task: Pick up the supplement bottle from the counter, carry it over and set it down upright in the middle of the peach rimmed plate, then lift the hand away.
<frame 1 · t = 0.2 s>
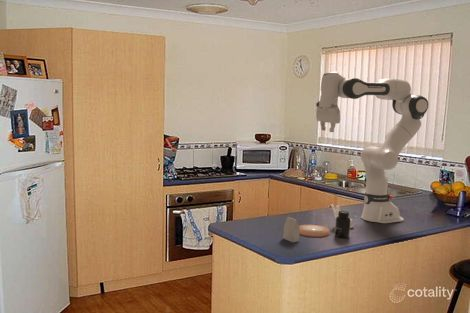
hand: (327, 131, 254), 47 cm above the table, tool pointing down, fingers open, 8 cm apart
supplement bottle: (342, 236, 234), on the table
peach rimmed plate: (312, 232, 240), on the table
plastic part: (341, 227, 252), on the table
tea bag: (291, 240, 227), on the table
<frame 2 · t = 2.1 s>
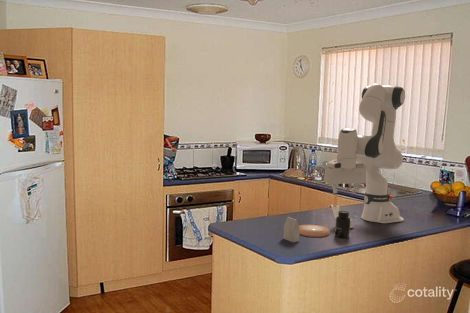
hand: (344, 192, 232), 21 cm above the table, tool pointing down, fingers open, 8 cm apart
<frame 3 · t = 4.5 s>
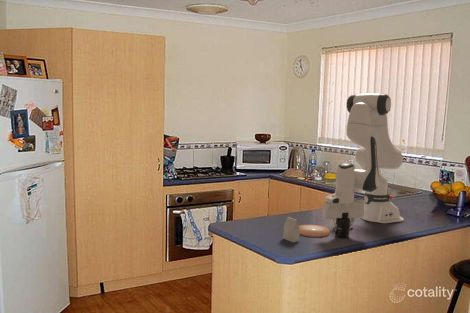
hand: (342, 226, 234), 5 cm above the table, tool pointing down, fingers closed on supplement bottle, 7 cm apart
supplement bottle: (342, 236, 234), on the table, touching gripper
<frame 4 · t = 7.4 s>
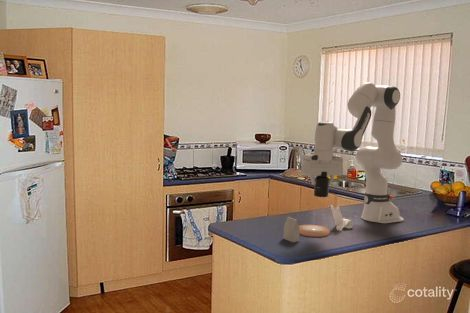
hand: (321, 184, 235), 24 cm above the table, tool pointing down, fingers closed on supplement bottle, 7 cm apart
supplement bottle: (321, 196, 236), point 18 cm above the table, touching gripper
when the fingers open (7 cm above the table, at t = 10.6 s): supplement bottle stays where it is, resting on peach rimmed plate.
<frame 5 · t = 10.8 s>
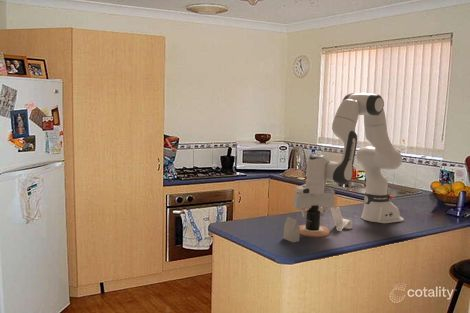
hand: (313, 216, 239), 8 cm above the table, tool pointing down, fingers open, 8 cm apart
supplement bottle: (312, 229, 240), point 2 cm above the table, touching peach rimmed plate
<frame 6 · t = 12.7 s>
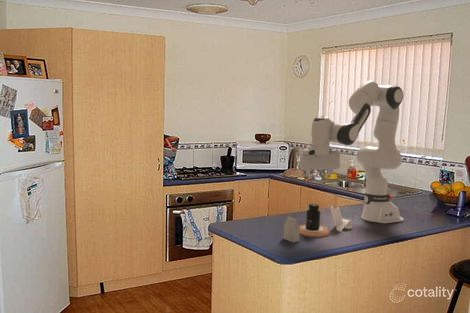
hand: (319, 178, 242), 26 cm above the table, tool pointing down, fingers open, 8 cm apart
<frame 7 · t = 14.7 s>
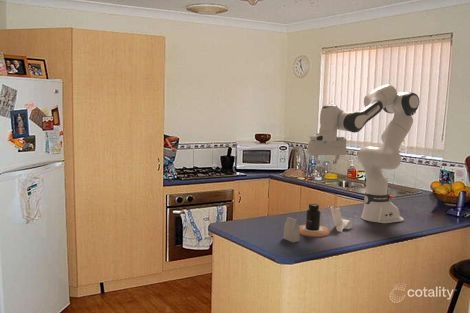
hand: (326, 163, 253), 31 cm above the table, tool pointing down, fingers open, 8 cm apart
at the end: supplement bottle inside the target area on the peach rimmed plate (0.5 cm from its centre), point 1.5 cm above the peach rimmed plate's base; supplement bottle tilted 0°; the gripper is holding nothing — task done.
